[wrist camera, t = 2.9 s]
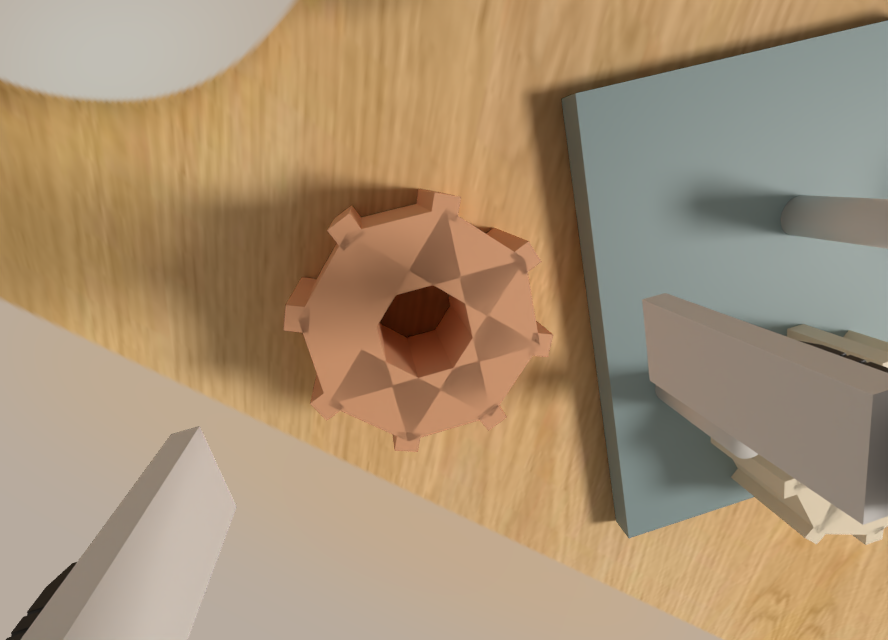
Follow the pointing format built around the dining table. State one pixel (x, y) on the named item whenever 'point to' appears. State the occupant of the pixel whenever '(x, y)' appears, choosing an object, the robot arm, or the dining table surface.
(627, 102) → the gear board
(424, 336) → the loose gear
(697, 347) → the robot arm
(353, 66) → the dining table surface
